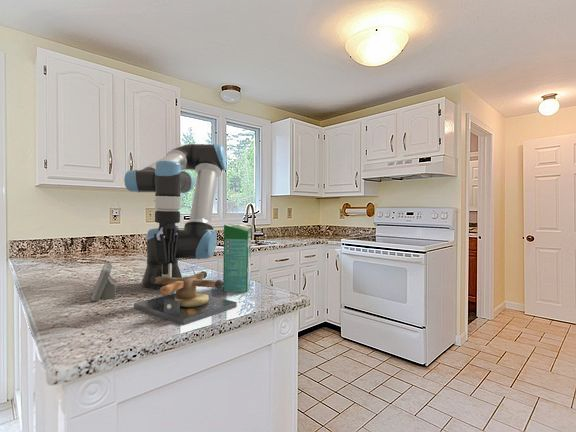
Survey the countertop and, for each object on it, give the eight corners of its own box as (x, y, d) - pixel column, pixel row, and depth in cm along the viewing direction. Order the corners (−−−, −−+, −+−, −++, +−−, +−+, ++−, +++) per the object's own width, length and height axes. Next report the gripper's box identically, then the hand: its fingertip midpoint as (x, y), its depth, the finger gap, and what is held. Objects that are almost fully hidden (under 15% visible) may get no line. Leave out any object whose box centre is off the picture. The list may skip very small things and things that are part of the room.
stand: (131, 308, 99) (131, 290, 99) (187, 294, 116) (187, 279, 116) (181, 325, 85) (181, 305, 85) (236, 306, 102) (236, 289, 102)
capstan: (123, 310, 91) (123, 283, 91) (173, 289, 115) (173, 268, 115) (203, 317, 86) (203, 289, 86) (238, 294, 110) (238, 272, 110)
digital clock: (95, 291, 119) (95, 262, 119) (122, 289, 121) (122, 261, 121) (80, 303, 103) (80, 270, 103) (111, 302, 106) (111, 269, 106)
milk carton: (247, 292, 120) (248, 224, 120) (223, 291, 121) (223, 224, 120) (250, 286, 130) (251, 223, 129) (228, 285, 130) (228, 223, 129)
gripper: (165, 209, 110) (164, 278, 111) (145, 210, 97) (145, 288, 98) (187, 210, 109) (185, 279, 110) (170, 211, 96) (168, 289, 97)
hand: (166, 283), depth 104 cm, fingers closed
